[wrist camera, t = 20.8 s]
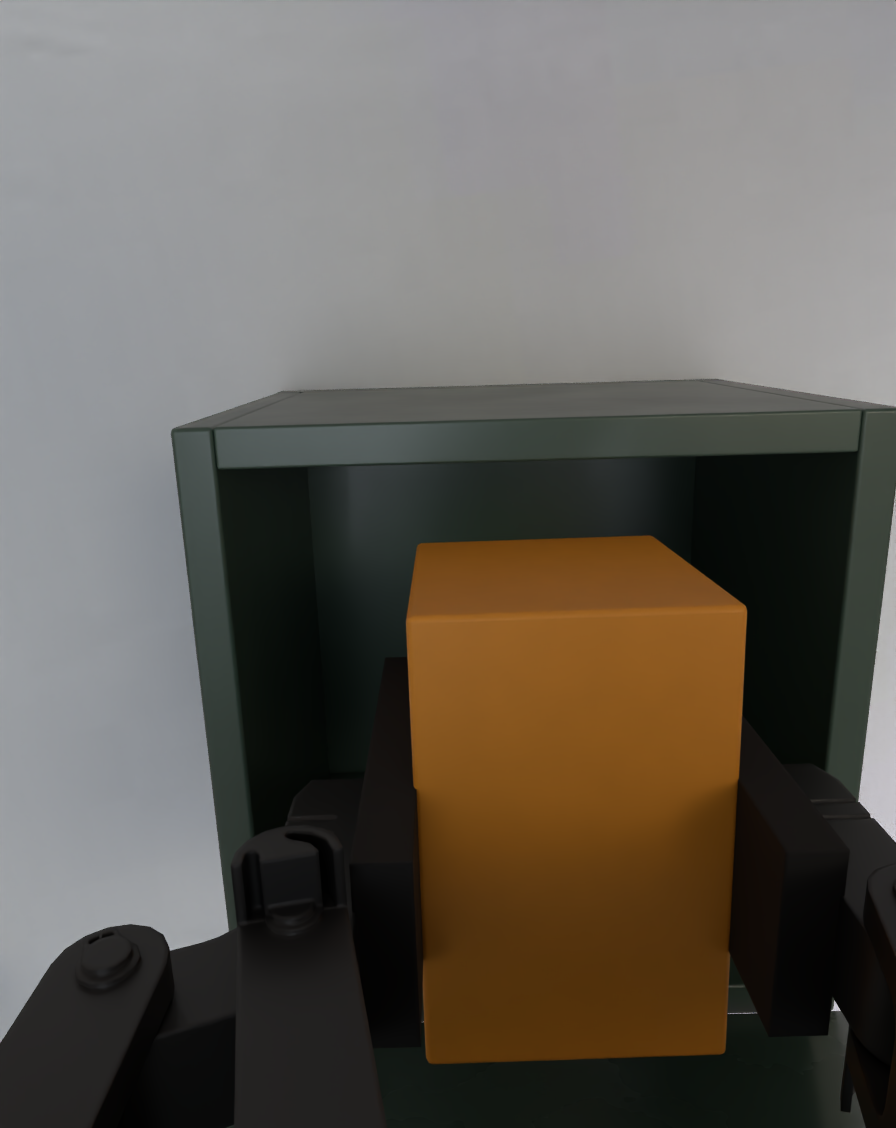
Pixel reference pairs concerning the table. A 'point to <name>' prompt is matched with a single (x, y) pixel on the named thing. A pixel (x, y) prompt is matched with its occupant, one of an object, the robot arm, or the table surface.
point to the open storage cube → (518, 512)
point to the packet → (573, 797)
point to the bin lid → (631, 1087)
